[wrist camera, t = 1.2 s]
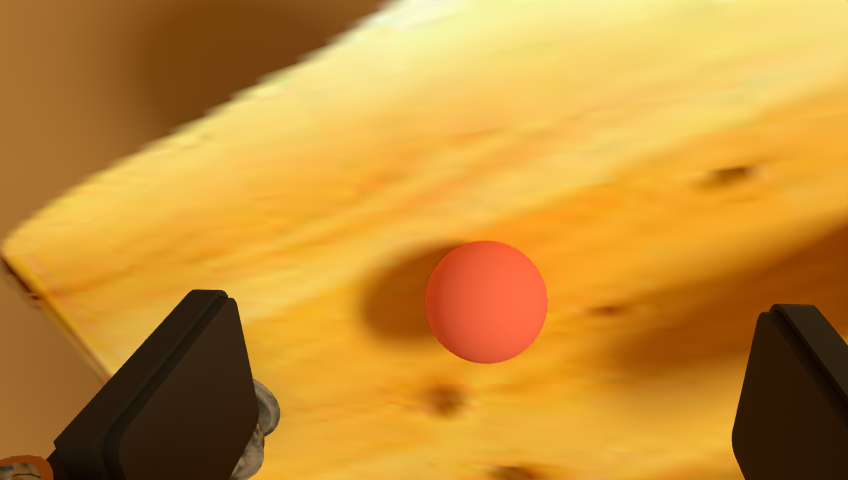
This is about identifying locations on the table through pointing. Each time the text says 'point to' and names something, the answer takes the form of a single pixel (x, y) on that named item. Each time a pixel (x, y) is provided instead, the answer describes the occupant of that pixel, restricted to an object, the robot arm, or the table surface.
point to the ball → (486, 302)
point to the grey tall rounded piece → (258, 434)
